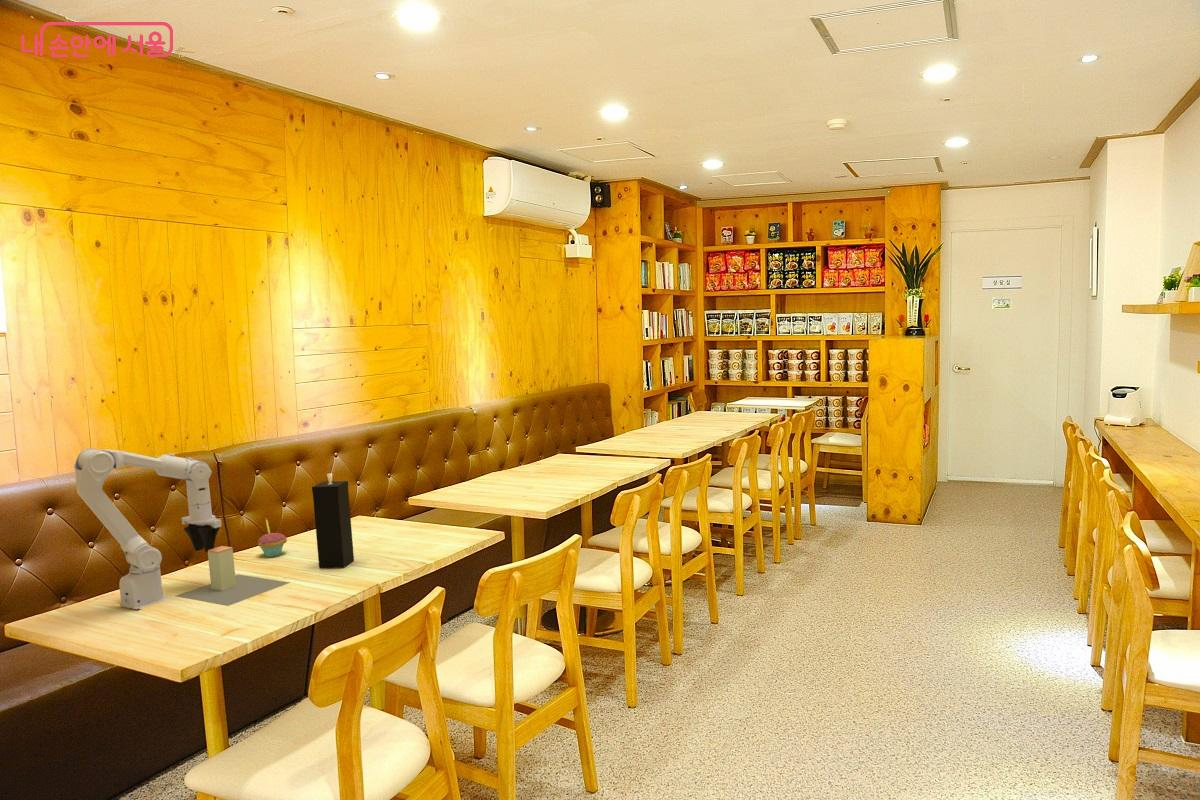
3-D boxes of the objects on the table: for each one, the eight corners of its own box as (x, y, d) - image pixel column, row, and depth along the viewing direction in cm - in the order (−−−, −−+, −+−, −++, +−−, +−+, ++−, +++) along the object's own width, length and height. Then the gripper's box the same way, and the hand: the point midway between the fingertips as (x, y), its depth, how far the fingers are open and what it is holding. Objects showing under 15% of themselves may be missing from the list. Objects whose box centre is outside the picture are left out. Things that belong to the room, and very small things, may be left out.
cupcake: (253, 557, 262) (249, 520, 261) (274, 550, 269) (271, 514, 268) (272, 559, 258) (268, 522, 257) (293, 552, 265) (290, 515, 264)
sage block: (222, 590, 227) (218, 551, 226) (211, 589, 229) (207, 550, 228) (236, 585, 231) (232, 547, 230) (225, 584, 233) (221, 545, 232)
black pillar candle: (354, 560, 252) (347, 470, 250) (344, 568, 245) (336, 475, 242) (329, 561, 253) (322, 471, 250) (318, 568, 245) (310, 475, 243)
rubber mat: (228, 608, 214) (228, 605, 214) (174, 597, 225) (174, 595, 225) (290, 584, 231) (290, 582, 231) (238, 576, 242) (238, 574, 242)
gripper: (229, 501, 231) (233, 549, 232) (195, 498, 238) (200, 544, 239) (206, 507, 225) (211, 556, 226) (173, 503, 232) (178, 551, 233)
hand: (204, 550), depth 232 cm, fingers open, 4 cm apart
